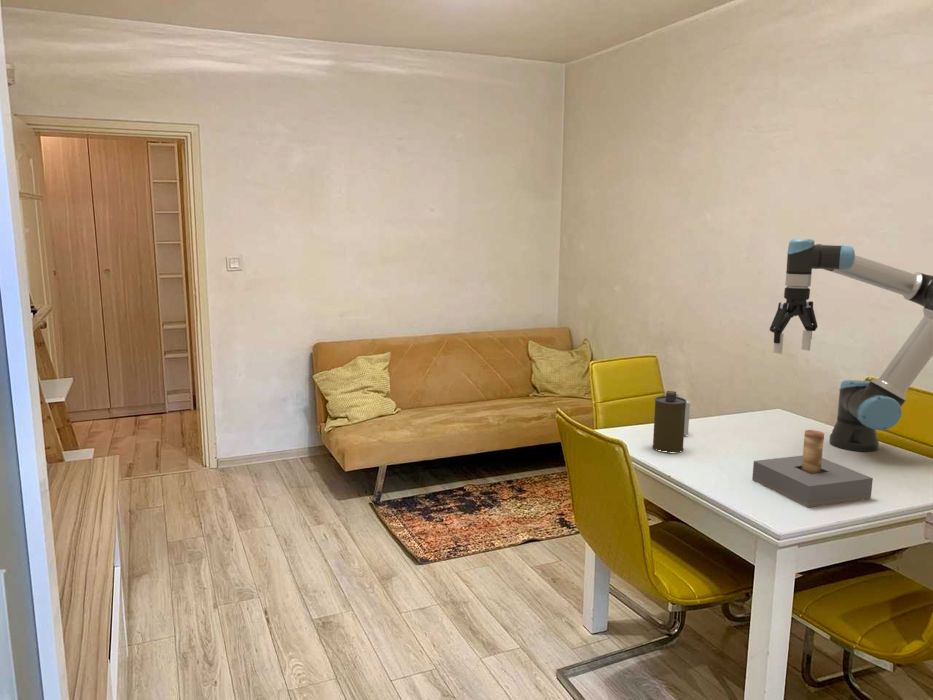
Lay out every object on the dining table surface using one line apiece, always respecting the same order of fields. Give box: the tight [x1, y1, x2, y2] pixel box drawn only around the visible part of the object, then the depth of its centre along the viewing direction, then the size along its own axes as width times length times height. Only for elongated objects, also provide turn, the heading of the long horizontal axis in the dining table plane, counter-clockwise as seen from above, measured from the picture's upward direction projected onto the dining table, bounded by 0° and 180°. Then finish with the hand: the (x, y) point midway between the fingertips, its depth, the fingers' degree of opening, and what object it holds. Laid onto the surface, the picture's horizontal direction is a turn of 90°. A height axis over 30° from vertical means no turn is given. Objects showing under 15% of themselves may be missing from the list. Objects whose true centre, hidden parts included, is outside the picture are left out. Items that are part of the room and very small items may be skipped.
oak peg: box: [801, 429, 825, 474], centre depth 205 cm, size 5×5×16 cm
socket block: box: [751, 455, 874, 508], centre depth 206 cm, size 22×22×6 cm
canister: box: [651, 390, 688, 453], centre depth 241 cm, size 11×10×20 cm
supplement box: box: [684, 399, 691, 436], centre depth 260 cm, size 7×7×13 cm
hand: (791, 351), depth 233 cm, fingers open, 13 cm apart
